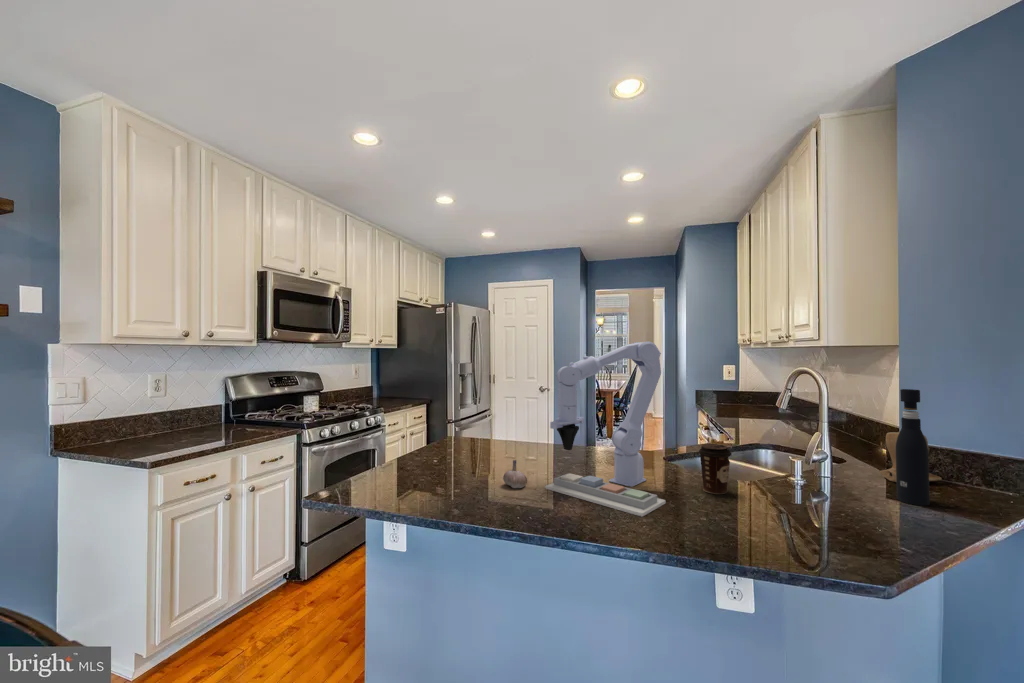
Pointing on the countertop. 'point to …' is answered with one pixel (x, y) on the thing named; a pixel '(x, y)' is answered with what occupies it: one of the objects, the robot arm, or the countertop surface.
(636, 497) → the sage key
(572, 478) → the cream key
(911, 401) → the black water bottle
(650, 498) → the keypad
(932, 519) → the countertop surface
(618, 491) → the terracotta key
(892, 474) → the wooden stand
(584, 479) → the slate key
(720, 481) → the coffee cup
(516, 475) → the garlic bulb
